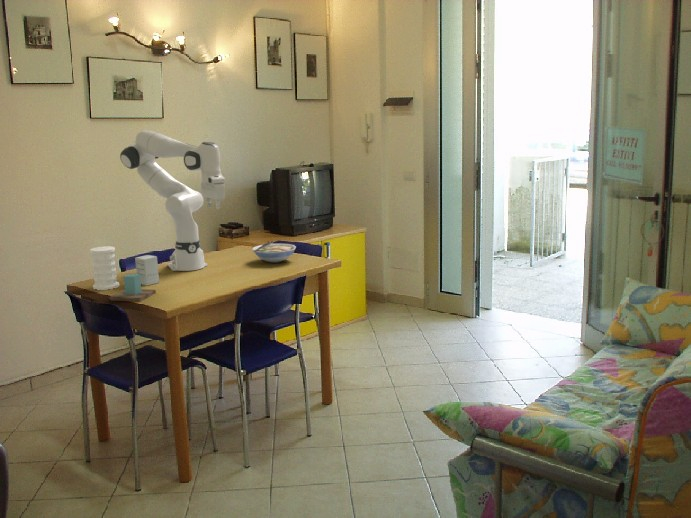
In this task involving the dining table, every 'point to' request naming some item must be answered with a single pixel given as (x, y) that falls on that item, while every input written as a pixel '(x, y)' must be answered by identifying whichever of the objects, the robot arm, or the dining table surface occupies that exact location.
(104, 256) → the decorative container
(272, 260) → the ramen bowl
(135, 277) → the teal block
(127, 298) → the walnut board
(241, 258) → the dining table surface
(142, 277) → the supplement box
